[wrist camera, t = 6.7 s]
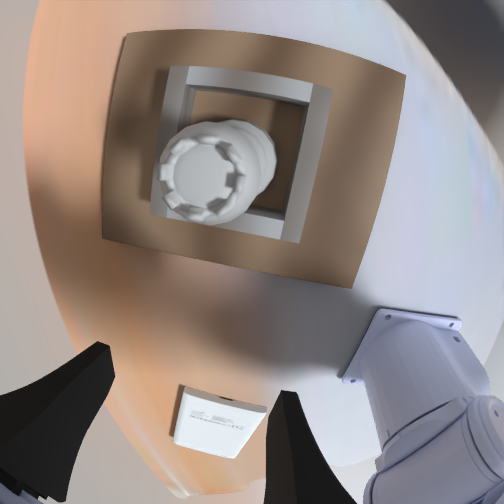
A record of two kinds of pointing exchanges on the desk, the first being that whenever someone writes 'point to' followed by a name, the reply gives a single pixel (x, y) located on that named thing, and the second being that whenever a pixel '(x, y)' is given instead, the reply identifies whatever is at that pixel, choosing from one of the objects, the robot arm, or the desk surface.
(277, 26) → the desk surface
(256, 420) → the external hard drive
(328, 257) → the socket board
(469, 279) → the desk surface
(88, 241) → the desk surface
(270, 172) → the rook chess piece
